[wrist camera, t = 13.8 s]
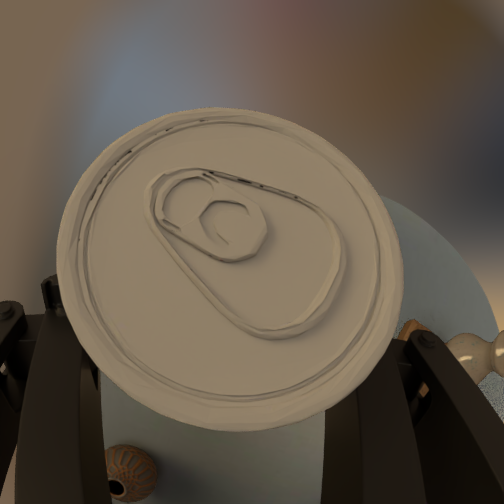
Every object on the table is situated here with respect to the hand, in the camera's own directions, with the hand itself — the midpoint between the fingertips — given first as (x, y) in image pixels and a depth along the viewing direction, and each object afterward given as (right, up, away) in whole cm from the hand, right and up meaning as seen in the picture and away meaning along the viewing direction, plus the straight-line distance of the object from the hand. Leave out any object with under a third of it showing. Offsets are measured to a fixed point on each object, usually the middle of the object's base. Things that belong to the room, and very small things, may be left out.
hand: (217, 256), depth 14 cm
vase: (-13, -25, +14) cm, 31 cm away
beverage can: (-1, -5, +4) cm, 7 cm away
